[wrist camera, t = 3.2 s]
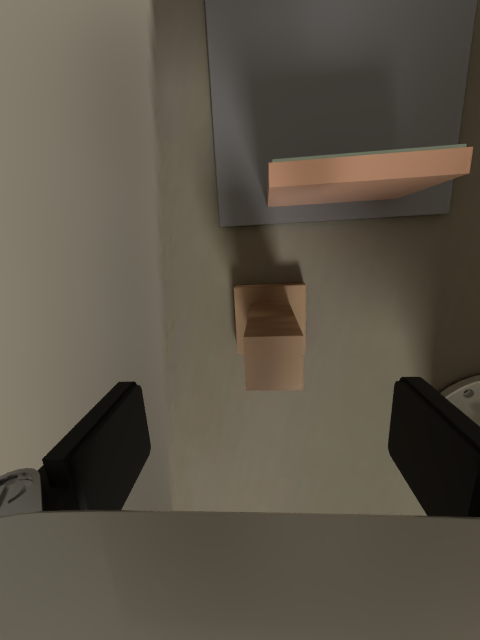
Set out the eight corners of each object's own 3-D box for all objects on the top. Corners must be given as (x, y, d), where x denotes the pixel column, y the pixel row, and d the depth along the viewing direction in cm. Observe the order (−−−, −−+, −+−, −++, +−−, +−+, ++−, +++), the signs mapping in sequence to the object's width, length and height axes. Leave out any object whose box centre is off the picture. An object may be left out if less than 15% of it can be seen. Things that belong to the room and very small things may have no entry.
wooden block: (303, 282, 24) (331, 309, 14) (303, 347, 26) (328, 412, 16) (235, 285, 25) (216, 312, 15) (239, 348, 27) (223, 411, 16)
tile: (398, 179, 21) (473, 142, 14) (396, 198, 22) (469, 173, 14) (267, 188, 22) (268, 158, 15) (267, 207, 23) (269, 187, 15)
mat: (480, -51, 18) (484, -57, 18) (446, 213, 22) (449, 213, 22) (205, -12, 20) (204, -17, 19) (220, 227, 24) (219, 226, 23)
